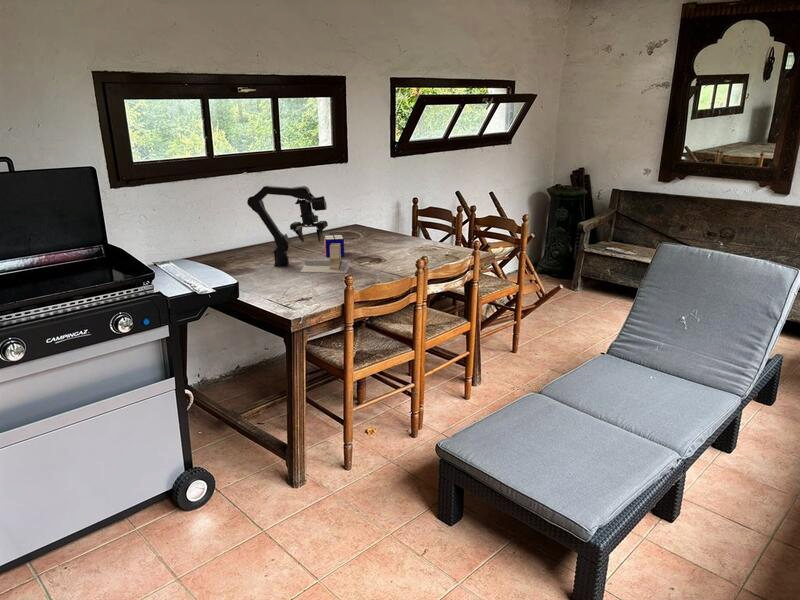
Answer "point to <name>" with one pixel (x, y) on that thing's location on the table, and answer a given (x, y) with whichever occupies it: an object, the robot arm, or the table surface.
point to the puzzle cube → (333, 239)
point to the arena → (324, 266)
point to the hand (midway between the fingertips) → (311, 241)
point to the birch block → (335, 256)
